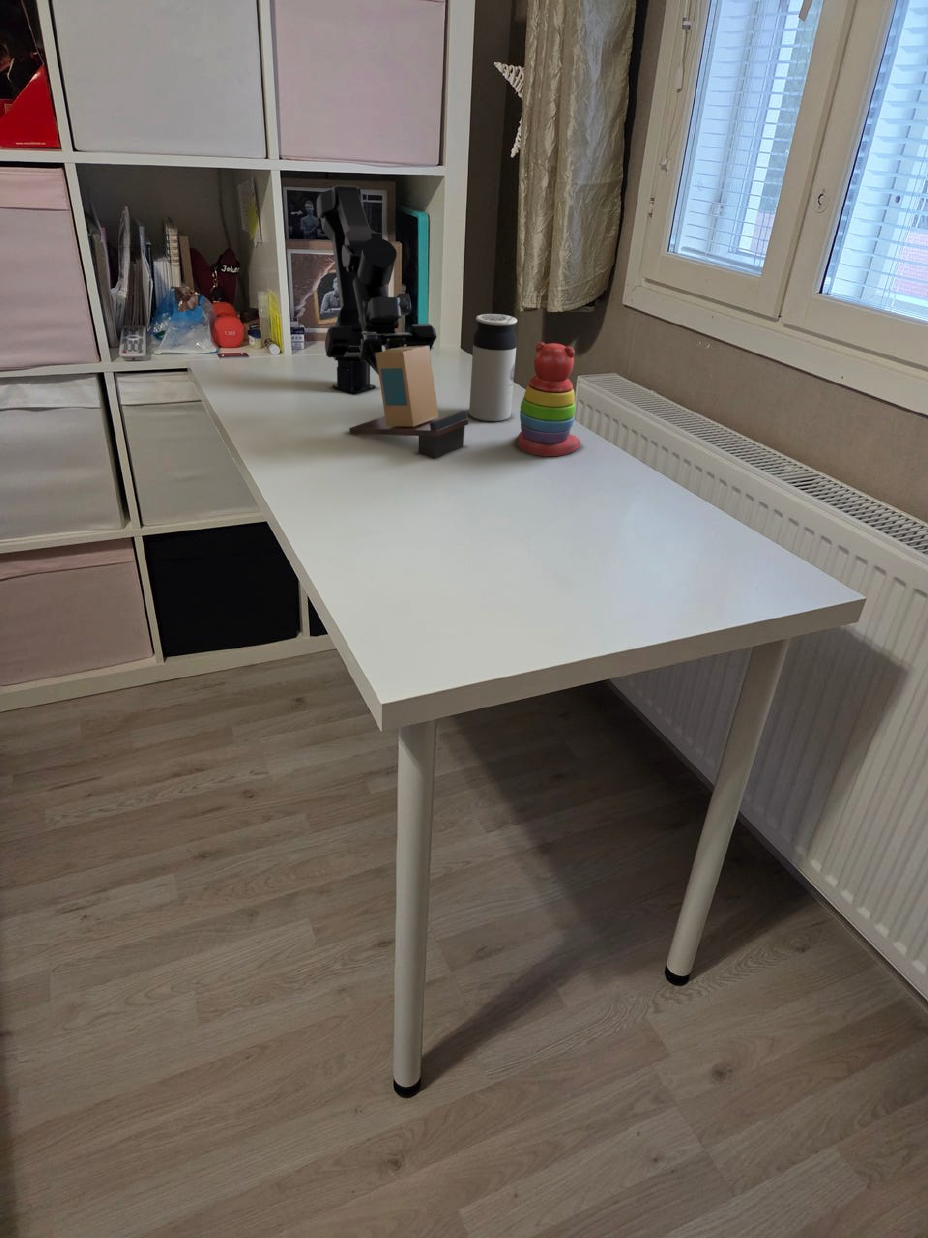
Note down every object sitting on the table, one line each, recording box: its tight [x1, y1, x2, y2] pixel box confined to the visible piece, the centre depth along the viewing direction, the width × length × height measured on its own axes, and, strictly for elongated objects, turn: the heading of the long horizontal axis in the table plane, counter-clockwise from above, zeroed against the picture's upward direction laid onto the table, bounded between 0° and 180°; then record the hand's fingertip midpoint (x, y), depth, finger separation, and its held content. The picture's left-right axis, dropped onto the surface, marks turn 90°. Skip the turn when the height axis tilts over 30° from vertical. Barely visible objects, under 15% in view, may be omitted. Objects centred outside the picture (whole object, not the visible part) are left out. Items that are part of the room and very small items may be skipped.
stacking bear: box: [516, 341, 581, 457], centre depth 144 cm, size 11×10×18 cm
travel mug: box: [468, 313, 518, 422], centre depth 158 cm, size 8×8×18 cm
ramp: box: [348, 410, 469, 460], centre depth 146 cm, size 19×9×6 cm, turn 55°
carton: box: [375, 345, 439, 427], centre depth 143 cm, size 8×7×13 cm
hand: (389, 384), depth 145 cm, fingers closed
